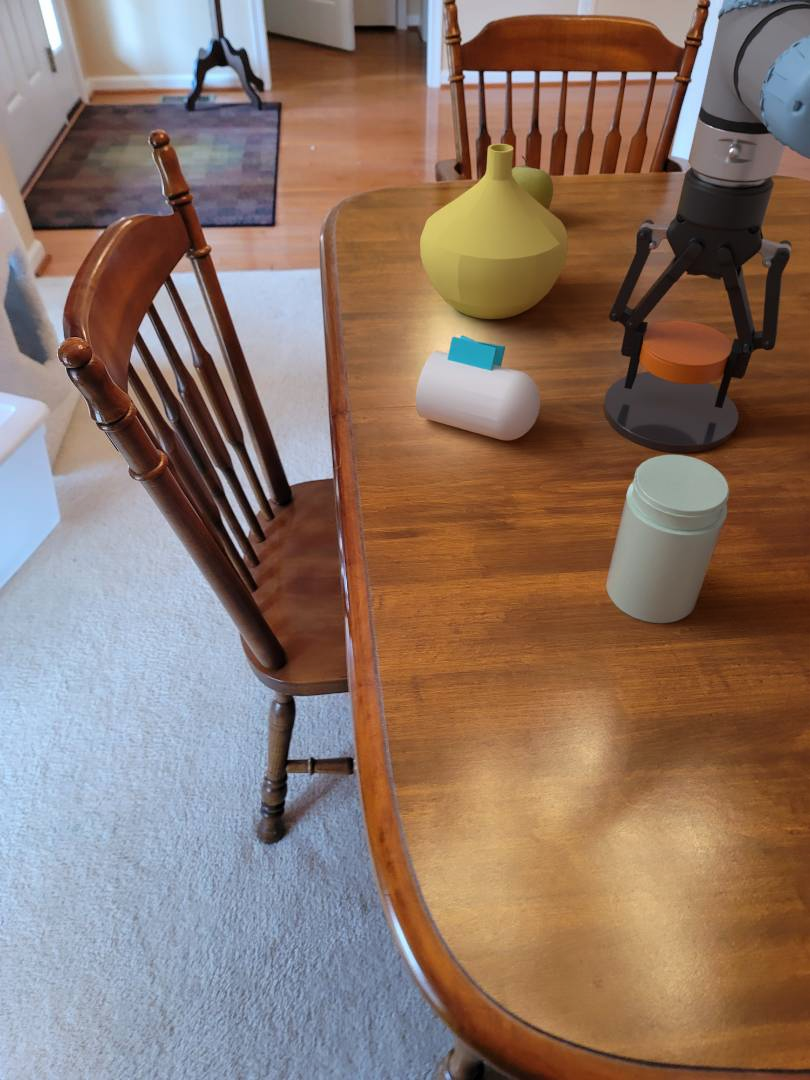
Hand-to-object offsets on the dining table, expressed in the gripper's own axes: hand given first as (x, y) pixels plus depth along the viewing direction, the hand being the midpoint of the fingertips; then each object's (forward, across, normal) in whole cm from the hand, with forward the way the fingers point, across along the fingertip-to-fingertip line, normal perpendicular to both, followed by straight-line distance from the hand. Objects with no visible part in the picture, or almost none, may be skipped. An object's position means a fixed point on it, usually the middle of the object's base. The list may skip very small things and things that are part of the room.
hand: (674, 391), depth 88 cm
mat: (+3, 0, 0) cm, 3 cm away
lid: (-6, 0, 0) cm, 6 cm away
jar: (+3, +3, -27) cm, 27 cm away
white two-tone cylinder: (+3, -18, -8) cm, 20 cm away
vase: (+3, -26, +17) cm, 31 cm away
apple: (+3, -29, +43) cm, 52 cm away
